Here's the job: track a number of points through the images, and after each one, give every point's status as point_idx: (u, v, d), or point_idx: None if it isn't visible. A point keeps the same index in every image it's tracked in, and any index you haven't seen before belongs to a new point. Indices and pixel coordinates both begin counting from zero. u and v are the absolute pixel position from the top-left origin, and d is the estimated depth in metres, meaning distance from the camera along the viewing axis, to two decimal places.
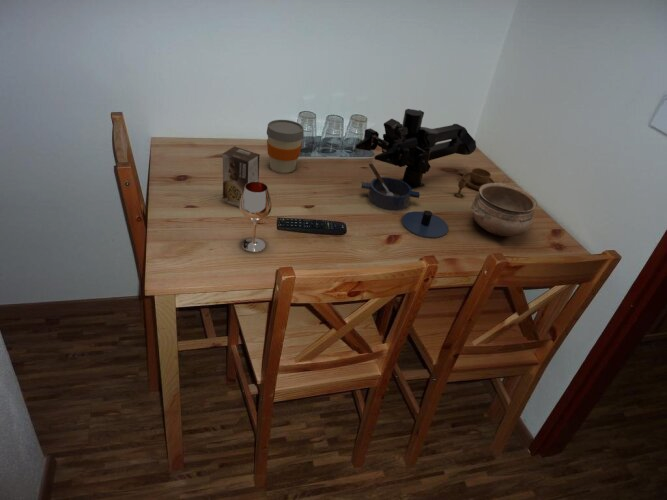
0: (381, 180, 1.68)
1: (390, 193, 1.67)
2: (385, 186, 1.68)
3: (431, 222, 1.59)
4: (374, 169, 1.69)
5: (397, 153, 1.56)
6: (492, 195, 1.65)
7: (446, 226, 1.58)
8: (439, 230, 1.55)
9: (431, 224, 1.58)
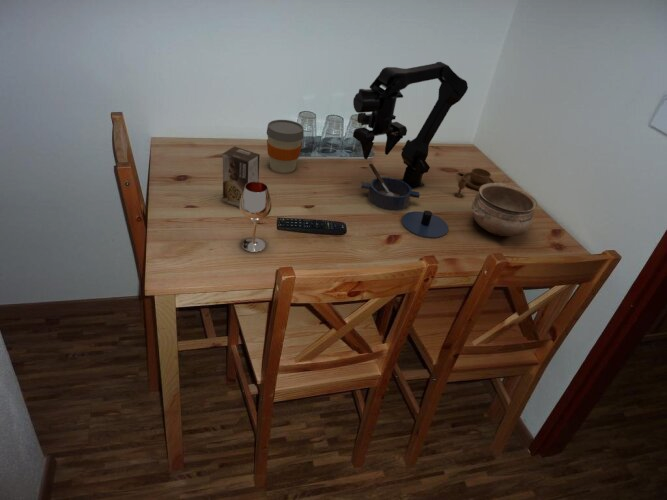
0: (381, 180, 1.68)
1: (390, 193, 1.67)
2: (385, 186, 1.68)
3: (431, 222, 1.59)
4: (374, 169, 1.69)
5: None
6: (492, 195, 1.65)
7: (446, 226, 1.58)
8: (439, 230, 1.55)
9: (431, 224, 1.58)
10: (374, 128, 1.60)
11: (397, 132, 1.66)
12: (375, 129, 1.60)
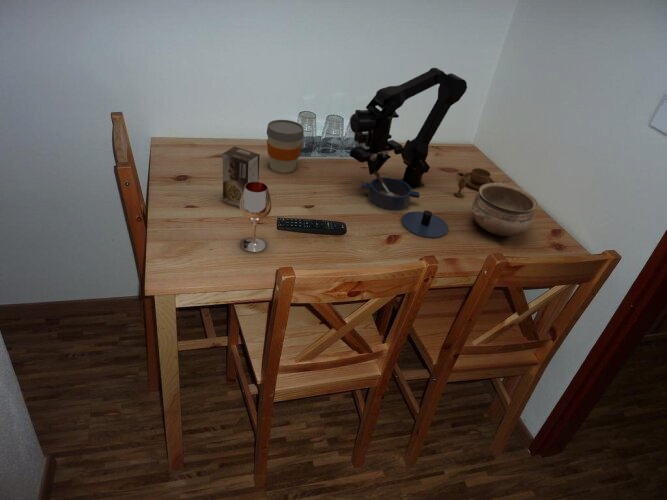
0: (381, 180, 1.68)
1: (390, 193, 1.67)
2: (385, 186, 1.68)
3: (431, 222, 1.59)
4: None
5: None
6: (492, 195, 1.65)
7: (446, 226, 1.58)
8: (439, 230, 1.55)
9: (431, 224, 1.58)
10: (370, 147, 1.64)
11: (385, 152, 1.67)
12: (371, 148, 1.64)
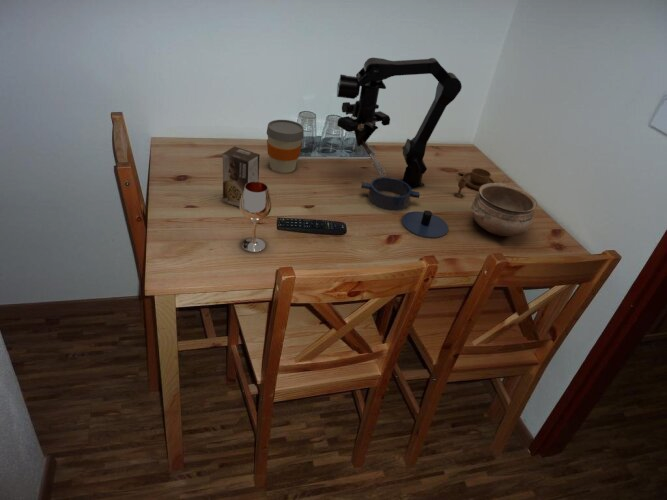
0: (369, 151, 1.69)
1: (378, 163, 1.68)
2: (373, 157, 1.68)
3: (431, 222, 1.59)
4: (362, 140, 1.70)
5: None
6: (492, 195, 1.65)
7: (446, 226, 1.58)
8: (439, 230, 1.55)
9: (431, 224, 1.58)
10: (358, 117, 1.65)
11: (372, 123, 1.68)
12: (359, 118, 1.64)
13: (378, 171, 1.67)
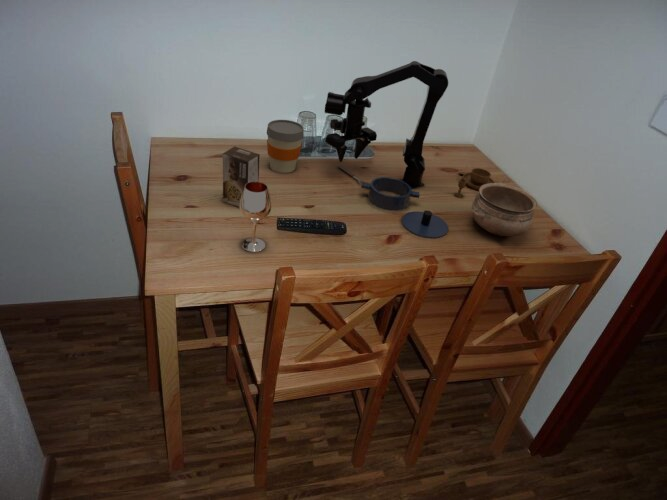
0: (351, 174, 1.80)
1: None
2: (356, 178, 1.78)
3: (431, 222, 1.59)
4: (343, 169, 1.83)
5: None
6: (492, 195, 1.65)
7: (446, 226, 1.58)
8: (439, 230, 1.55)
9: (431, 224, 1.58)
10: (345, 133, 1.72)
11: (365, 137, 1.77)
12: (346, 134, 1.72)
13: None
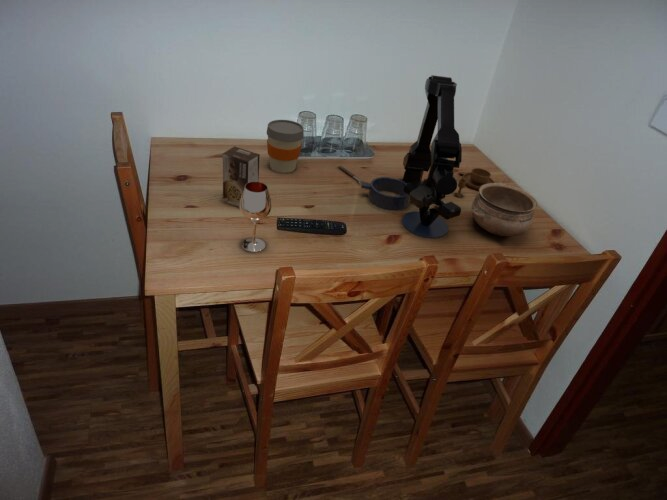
0: (351, 174, 1.80)
1: None
2: (356, 178, 1.78)
3: None
4: (343, 169, 1.83)
5: None
6: (492, 195, 1.65)
7: (446, 226, 1.58)
8: (439, 230, 1.55)
9: (431, 224, 1.58)
10: (439, 199, 1.50)
11: None
12: (440, 199, 1.50)
13: None
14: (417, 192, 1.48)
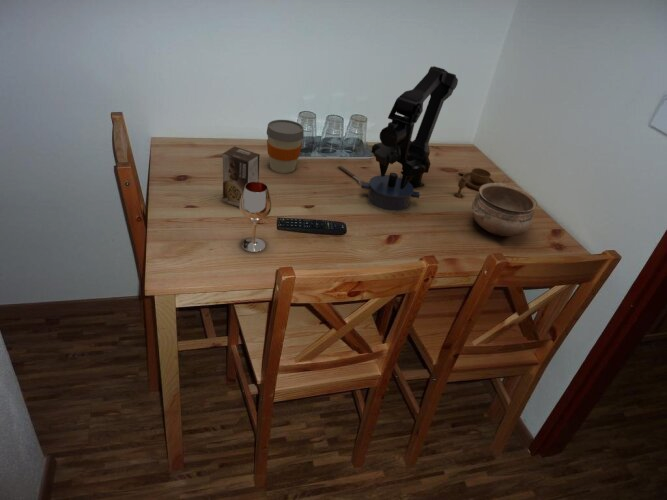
0: (351, 174, 1.80)
1: None
2: (356, 178, 1.78)
3: (397, 184, 1.66)
4: (343, 169, 1.83)
5: None
6: (492, 195, 1.65)
7: (411, 188, 1.65)
8: (404, 191, 1.63)
9: (397, 186, 1.65)
10: (403, 157, 1.57)
11: None
12: (404, 157, 1.57)
13: None
14: (382, 150, 1.55)
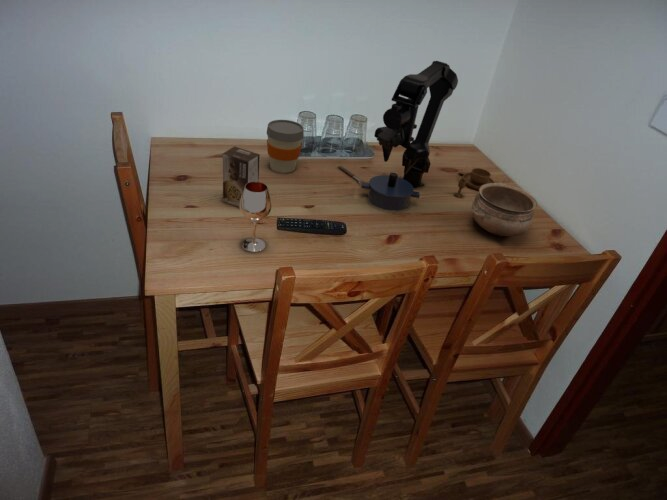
0: (351, 174, 1.80)
1: None
2: (356, 178, 1.78)
3: (397, 184, 1.66)
4: (343, 169, 1.83)
5: None
6: (492, 195, 1.65)
7: (411, 188, 1.65)
8: (404, 191, 1.63)
9: (397, 186, 1.65)
10: (407, 141, 1.54)
11: None
12: (408, 141, 1.54)
13: None
14: (385, 133, 1.51)
